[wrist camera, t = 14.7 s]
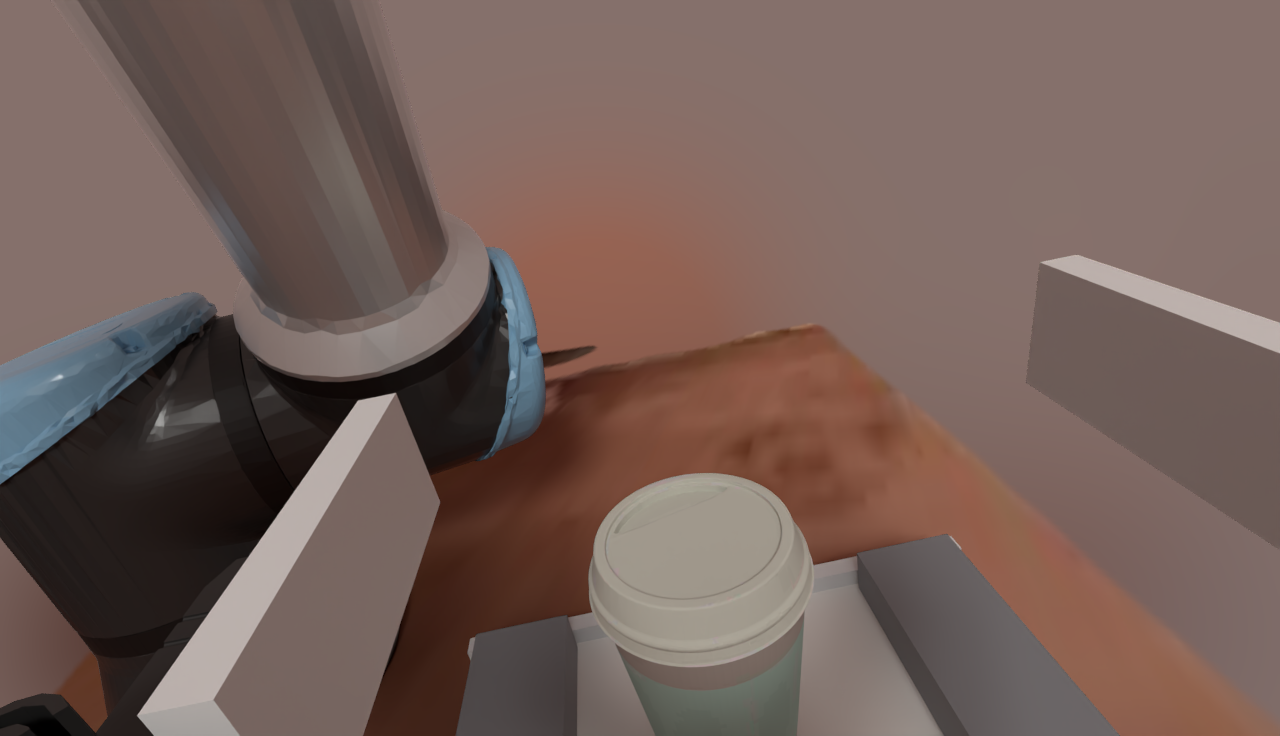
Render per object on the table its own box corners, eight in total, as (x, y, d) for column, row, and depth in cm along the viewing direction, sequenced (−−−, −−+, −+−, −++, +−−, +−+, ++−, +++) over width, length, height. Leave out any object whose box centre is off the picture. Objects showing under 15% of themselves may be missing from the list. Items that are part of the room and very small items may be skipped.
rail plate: (414, 1059, 21) (372, 1005, 19) (483, 665, 35) (463, 616, 34) (1204, 888, 21) (1228, 820, 19) (948, 566, 36) (949, 512, 34)
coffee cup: (819, 662, 30) (803, 460, 25) (839, 861, 22) (820, 626, 17) (652, 657, 32) (607, 469, 27) (618, 837, 24) (547, 621, 20)
